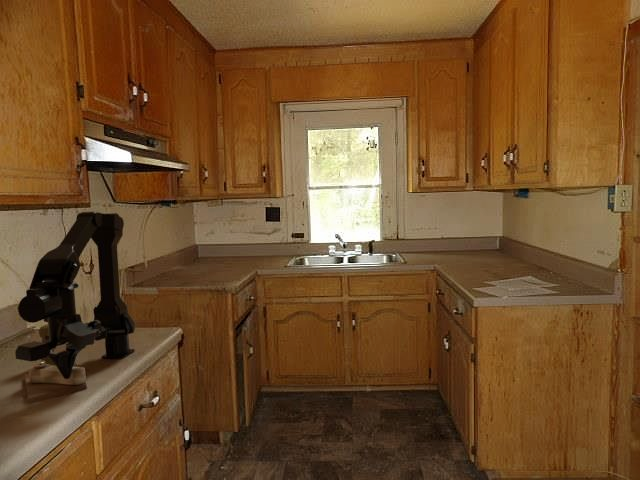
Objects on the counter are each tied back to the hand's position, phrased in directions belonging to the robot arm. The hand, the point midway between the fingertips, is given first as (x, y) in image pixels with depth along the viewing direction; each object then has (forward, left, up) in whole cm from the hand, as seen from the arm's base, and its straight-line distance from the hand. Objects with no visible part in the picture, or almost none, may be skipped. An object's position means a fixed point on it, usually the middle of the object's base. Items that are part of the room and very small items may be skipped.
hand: (66, 378), depth 107 cm
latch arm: (-3, -5, -2) cm, 6 cm away
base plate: (-4, -7, -3) cm, 9 cm away
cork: (-17, -17, -3) cm, 24 cm away
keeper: (-7, -9, -3) cm, 12 cm away
